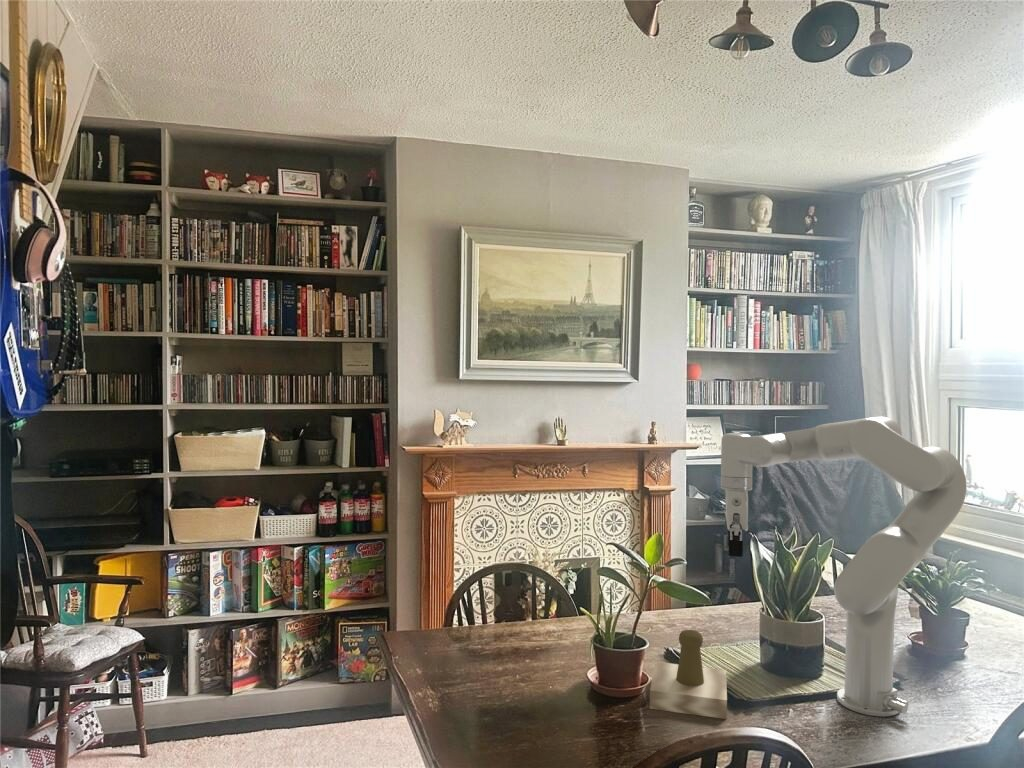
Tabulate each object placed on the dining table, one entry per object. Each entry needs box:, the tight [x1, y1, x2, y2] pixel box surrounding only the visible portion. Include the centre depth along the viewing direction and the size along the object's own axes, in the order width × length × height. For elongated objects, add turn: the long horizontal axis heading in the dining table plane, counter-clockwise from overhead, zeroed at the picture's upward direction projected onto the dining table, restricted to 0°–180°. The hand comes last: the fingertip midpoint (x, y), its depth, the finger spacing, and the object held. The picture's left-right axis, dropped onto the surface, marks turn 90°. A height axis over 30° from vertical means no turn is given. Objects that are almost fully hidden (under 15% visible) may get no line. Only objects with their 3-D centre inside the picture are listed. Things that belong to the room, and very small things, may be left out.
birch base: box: [649, 661, 728, 720], centre depth 163 cm, size 16×16×4 cm
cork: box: [676, 629, 704, 686], centre depth 163 cm, size 6×6×11 cm
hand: (735, 551), depth 182 cm, fingers open, 9 cm apart
